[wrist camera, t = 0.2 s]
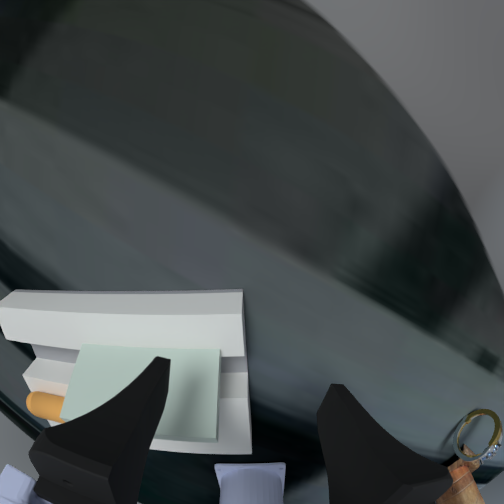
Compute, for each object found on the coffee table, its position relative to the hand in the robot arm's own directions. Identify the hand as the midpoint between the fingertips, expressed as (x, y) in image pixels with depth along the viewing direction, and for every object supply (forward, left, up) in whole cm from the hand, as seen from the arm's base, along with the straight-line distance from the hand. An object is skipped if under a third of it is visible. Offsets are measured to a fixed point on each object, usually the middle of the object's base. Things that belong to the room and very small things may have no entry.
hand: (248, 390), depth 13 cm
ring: (-21, -27, -10) cm, 35 cm away
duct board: (-7, +11, -10) cm, 16 cm away
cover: (-4, +7, -3) cm, 9 cm away
